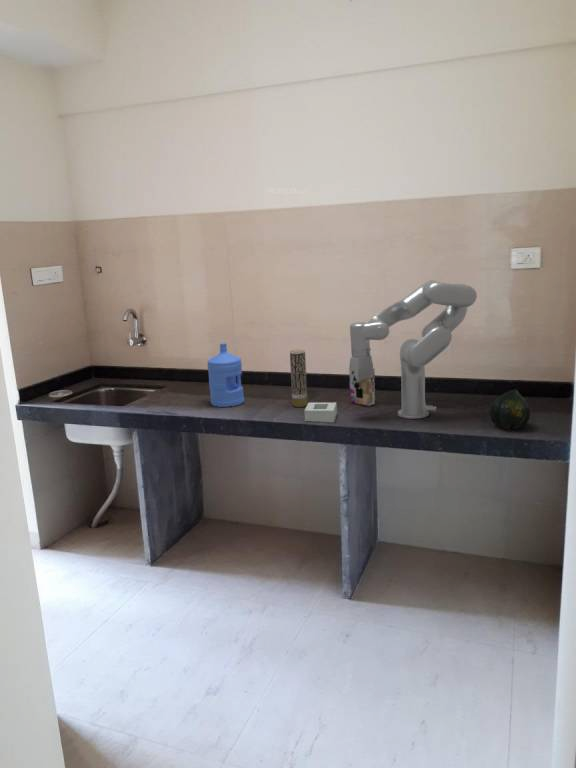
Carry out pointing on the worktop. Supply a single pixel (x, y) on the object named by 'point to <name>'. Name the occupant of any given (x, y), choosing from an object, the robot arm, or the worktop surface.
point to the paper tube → (298, 378)
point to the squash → (510, 410)
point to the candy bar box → (352, 393)
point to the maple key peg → (365, 393)
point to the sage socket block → (321, 412)
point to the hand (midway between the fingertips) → (363, 395)
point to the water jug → (225, 379)
